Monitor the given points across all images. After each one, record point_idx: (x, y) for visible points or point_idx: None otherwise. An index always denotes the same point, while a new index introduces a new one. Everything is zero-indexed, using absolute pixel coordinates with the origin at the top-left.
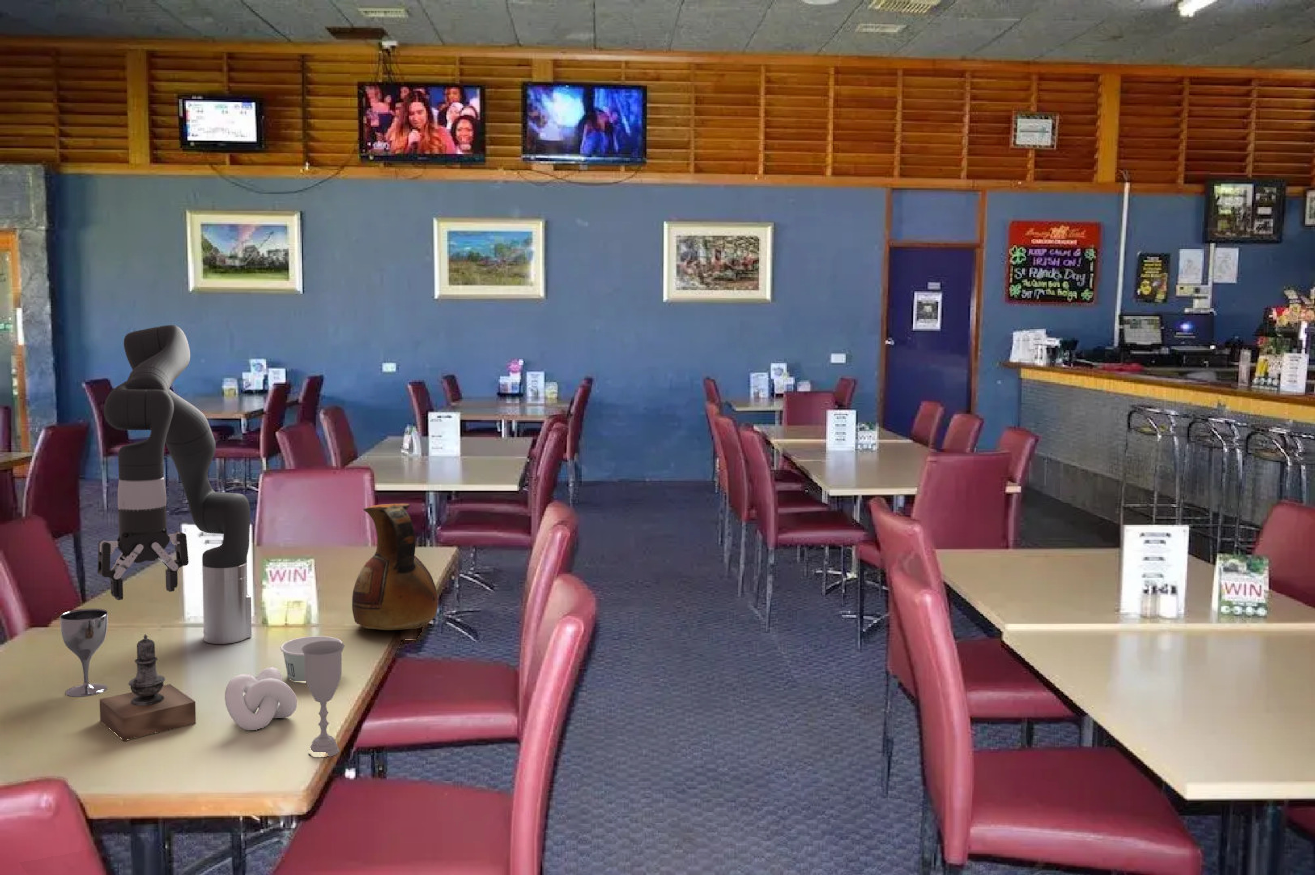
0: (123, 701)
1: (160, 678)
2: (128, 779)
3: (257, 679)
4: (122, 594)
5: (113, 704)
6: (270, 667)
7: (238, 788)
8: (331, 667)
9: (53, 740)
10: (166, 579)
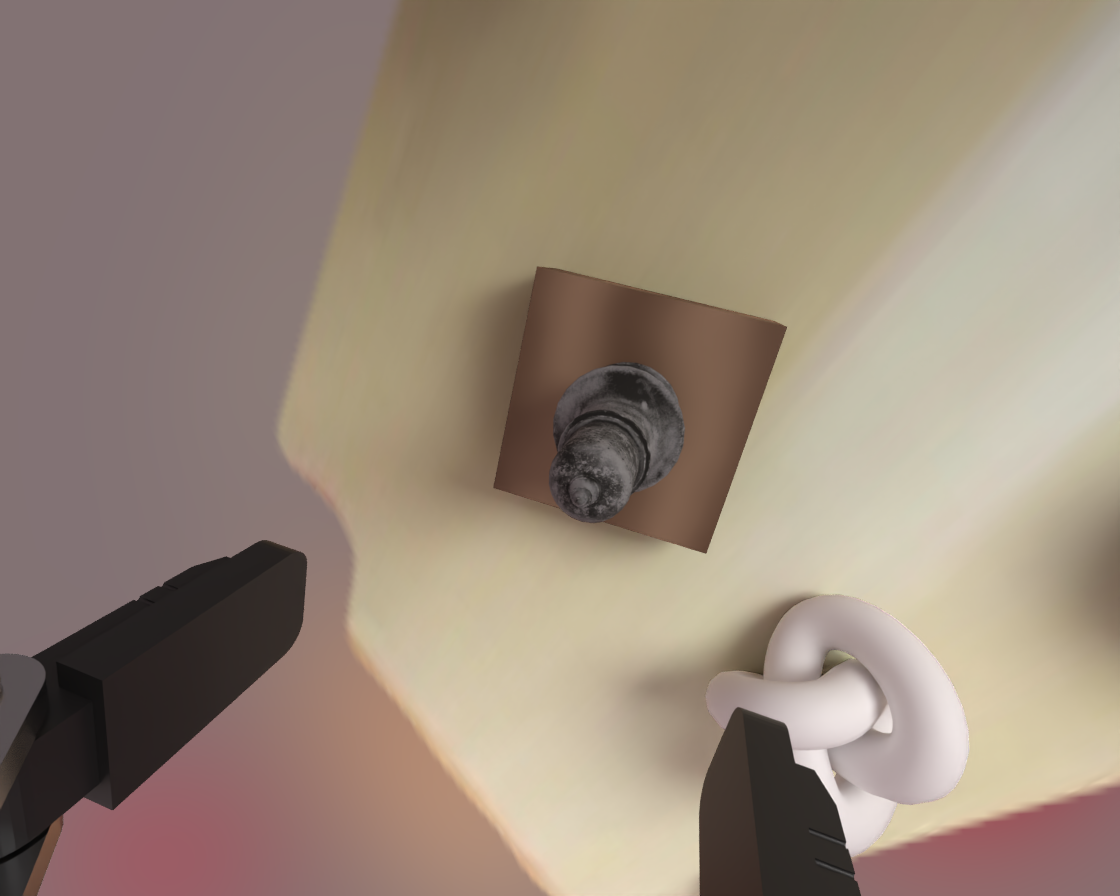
0: (572, 357)
1: (650, 470)
2: (420, 642)
3: (893, 701)
4: (260, 670)
5: (538, 356)
6: (944, 772)
7: (525, 834)
8: None
9: (409, 302)
10: (745, 820)
